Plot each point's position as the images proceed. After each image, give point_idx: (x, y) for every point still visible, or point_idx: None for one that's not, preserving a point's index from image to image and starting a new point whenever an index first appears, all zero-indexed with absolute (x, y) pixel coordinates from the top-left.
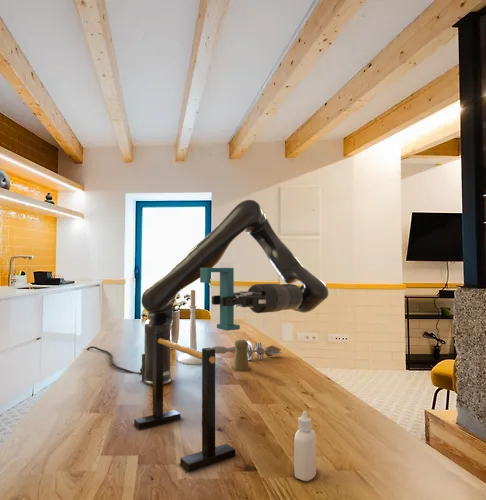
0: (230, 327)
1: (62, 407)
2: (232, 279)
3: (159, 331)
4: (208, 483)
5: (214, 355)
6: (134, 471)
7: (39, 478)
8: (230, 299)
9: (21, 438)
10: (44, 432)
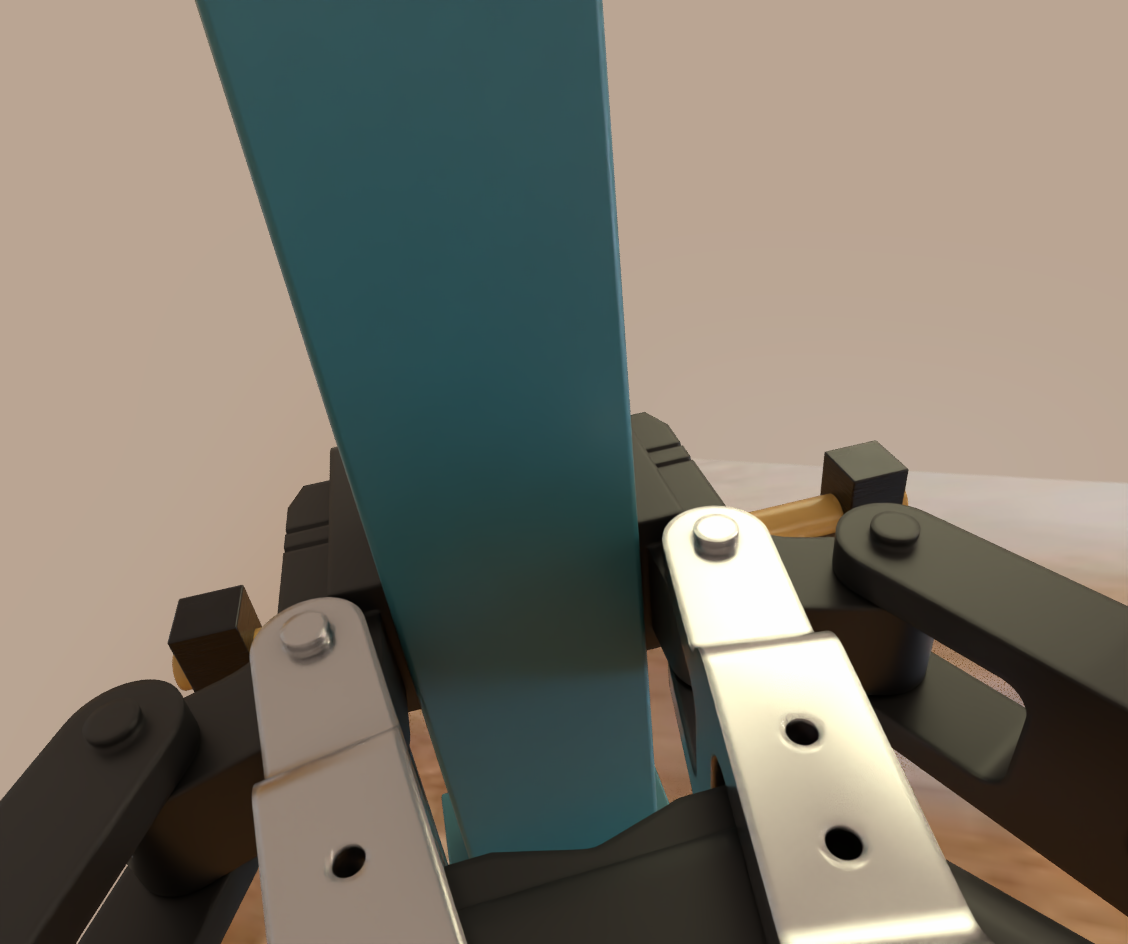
0: (448, 852)
1: (973, 526)
2: (270, 220)
3: (903, 467)
4: (252, 906)
5: (184, 667)
6: None
7: None
8: (289, 548)
9: (723, 473)
10: (755, 506)
